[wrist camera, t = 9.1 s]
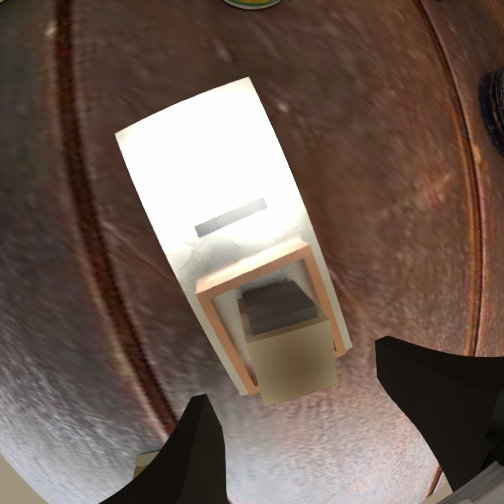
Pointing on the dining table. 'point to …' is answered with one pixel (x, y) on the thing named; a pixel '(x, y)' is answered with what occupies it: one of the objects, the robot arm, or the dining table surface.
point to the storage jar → (493, 107)
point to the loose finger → (287, 342)
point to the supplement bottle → (252, 3)
